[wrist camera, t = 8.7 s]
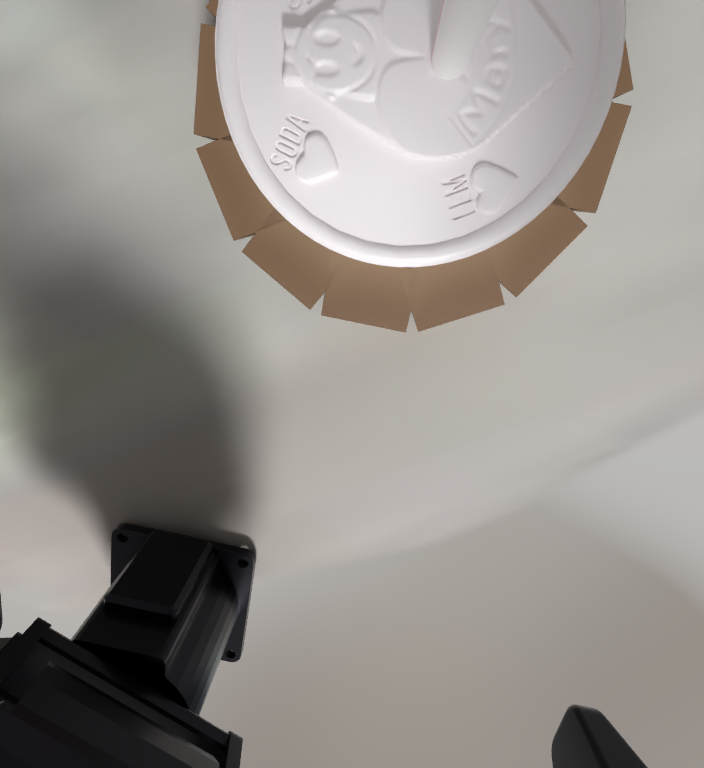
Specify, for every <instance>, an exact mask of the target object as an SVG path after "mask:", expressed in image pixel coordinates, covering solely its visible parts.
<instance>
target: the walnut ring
mask: <svg viewBox="0 0 704 768" xmlns="http://www.w3.org/2000/svg"><path fill="white" fill-rule="evenodd" d="M218 2H219V0H210V2H209V3H208V5H207V7H206V8H207V9H208V10H209V11H210V12H211V13H212V14H213V15H214V16H215V17H216V16H217V8H218ZM215 28H216V26H212V25H206V24H201V32H200V47H199V62H198V77H197V92H196V107H195V122H194V134H195V135H199V136H202V137H206V138H209V139H212V140H216V141H213V142H211V143H209V144H206V145H204V146H202V147H199V148H197V149H196V150H197V152H198V155H199V157H200V159H201V162H202V164H203V167H204V169H205V172H206V174H207V177H208V179H209V181H210V184H211V186H212V189H213V191H214V194H215V196H216V198H217V201H218V203H219V206H220V208H221V211H222V213H223V216H224V218H225V220H226V223H227V225H228V228H229V230H230V233H231V235H232V237H233V240H234V241H235V240H238V239H242V238H246V237H249V236H253V235H254V236H253V237H252V238H251V240H250V241H249V242H248V244H247V245H246V247H245V248H244V249H243V251H242V252H243V253H244V254H245V255H246V256H247V257H249V258H250V259H251V260H252V261H253V262H254V263H256V264H257V265H258V266H259V267H260V268H262V269H263V270H264V271H265V272H266V273H267V274H269V275H270V276H271V277H272V278H273V279H274V280H276V281H277V282H278V283H279V284H280V285H281V286H283V287H284V288H285V289H286V290H287V291H289V292H290V293H291V294H292V295H293V296H294V297H296V298H297V299H298V300H299V301H300V302H301V303H303V304H304V305H305V306H306V307H307V308H309V309H311V308H312V307H313V306H314V304H315V303H316V302H317V301H318V300H319V298H320V297H321V296H322V295H323V294H324V293H325V295H324V301H323V307H322V313H321V315H322V316H327V317H332V318H337V319H342V320H347V321H352V322H357V323H362V324H367V325H372V326H377V327H382V328H387V329H391V330H396V331H401V332H406V329H407V325H408V320H409V316H410V312H411V311H412V314H413V317H414V320H415V323H416V326H417V329H418V332H419V331H422V330H425V329H428V328H432V327H435V326H438V325H441V324H444V323H447V322H451V321H454V320H457V319H460V318H463V317H466V316H470V315H473V314H476V313H479V312H482V311H485V310H489V309H492V308H495V307H498V306H501V305H504V300H503V296H502V293H501V289H500V285H499V282H500V283H501V284H502V285H503V286H504V287H505V288H506V289H507V290H509V291H510V292H511V293H512V294H513V295H514V296H515V297H517V296H518V295H519V294H520V293H521V292H522V291H523V290H524V289H525V288H526V287H527V286H528V285H529V284H530V283H531V282H532V281H533V280H534V279H535V278H536V277H537V276H538V275H539V274H540V273H541V272H542V271H543V270H544V269H545V268H546V267H547V266H548V265H549V264H550V263H551V262H552V261H553V260H554V259H555V258H556V257H557V256H558V255H559V254H560V253H561V252H562V251H563V250H564V249H565V248H566V247H567V246H568V245H569V244H570V243H571V242H572V241H573V240H574V239H575V238H576V237H577V236H578V235H579V234H580V233H581V232H582V231H583V230H584V229H585V228H586V227H587V225H586V224H585V223H584V222H583V221H582V220H581V219H580V218H579V217H578V216H577V215H576V214H575V213H574V212H573V211H580V212H590V213H596V211H597V208H598V205H599V202H600V199H601V196H602V193H603V190H604V187H605V184H606V181H607V178H608V175H609V172H610V169H611V166H612V163H613V160H614V157H615V154H616V151H617V148H618V145H619V142H620V139H621V136H622V133H623V130H624V127H625V124H626V122H627V119H628V116H629V113H630V110H631V107H632V106H628V105H623V104H618V103H613V102H611V105H610V108H609V112H608V114H607V116H606V119H605V121H604V124H603V126H602V128H601V131H600V133H599V135H598V137H597V139H596V141H595V143H594V144H593V146H592V148H591V150H590V152H589V154H588V155H587V157H586V159H585V160H584V162H583V163H582V165H581V166H580V168H579V170H578V171H577V173H576V174H575V175H574V176H573V178H572V179H571V180H570V182H569V183H568V184H567V186H566V187H565V188H564V189H563V191H562V192H561V193H560V194H559V195H558V196H557V197H556V198H555V199H554V200H553V202H552V203H551V204H550V205H549V206H548V207H547V208H546V209H544V210H543V211H542V212H541V213H540V214H539V215H538V216H537V217H536V218H535V219H533V220H532V221H531V222H529V223H528V224H527V225H526V226H524V227H523V228H522V229H520V230H519V231H518V232H516V233H514V234H513V235H511V236H510V237H508V238H507V239H505V240H504V241H502V242H500V243H498V244H496V245H494V246H492V247H490V248H488V249H486V250H484V251H482V252H479V253H477V254H474V255H472V256H469V257H466V258H463V259H460V260H456V261H453V262H449V263H444V264H439V265H433V266H423V267H391V266H381V265H376V264H371V263H366V262H362V261H359V260H356V259H353V258H349V257H346V256H344V255H342V254H339V253H337V252H335V251H332V250H330V249H328V248H326V247H325V246H323V245H321V244H319V243H317V242H315V241H314V240H313V239H311V238H310V237H308V236H307V235H305V234H304V233H302V232H301V231H300V230H298V229H297V228H296V227H295V226H294V225H292V224H291V223H290V222H289V221H287V220H286V219H285V218H284V217H283V216H282V215H281V214H280V213H279V212H278V211H277V210H276V209H275V208H274V207H273V205H272V204H271V203H270V202H269V201H268V199H267V198H266V197H265V196H264V194H263V193H262V192H261V191H260V189H259V188H258V186H257V185H256V183H255V182H254V180H253V179H252V177H251V176H250V174H249V172H248V171H247V169H246V167H245V165H244V163H243V162H242V160H241V158H240V156H239V153H238V151H237V149H236V147H235V144H234V142H233V140H232V137H231V134H230V131H229V128H228V126H227V123H226V120H225V116H224V112H223V108H222V104H221V100H220V94H219V88H218V82H217V74H216V62H215ZM631 90H633V85H632V79H631V72H630V66H629V60H628V54H627V48H626V41H625V43H624V50H623V57H622V63H621V69H620V73H619V77H618V82H617V86H616V90H615V93H614V96H613V98H616V97H618V96H620V95H622V94H624V93H626V92H629V91H631Z"/></svg>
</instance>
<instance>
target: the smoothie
mask: <svg viewBox="0 0 704 768" xmlns="http://www.w3.org/2000/svg"><path fill="white" fill-rule="evenodd" d="M625 26H626V5H625V0H219V2H218V8H217V16H216V28H215V62H216V74H217V82H218V88H219V94H220V100H221V104H222V108H223V112H224V116H225V120H226V123H227V126H228V128H229V131H230V134H231V137H232V140H233V142H234V144H235V147H236V149H237V151H238V153H239V156H240V158H241V160H242V162H243V163H244V165H245V167H246V169H247V171H248V172H249V174H250V176H251V177H252V179H253V180H254V182H255V183H256V185H257V186H258V188H259V189H260V191H261V192H262V193H263V194H264V196H265V197H266V198H267V199H268V201H269V202H270V203H271V204H272V205H273V207H274V208H275V209H276V210H277V211H278V212H279V213H280V214H281V215H282V216H283V217H284V218H285V219H286V220H287V221H289V222H290V223H291V224H292V225H294V226H295V227H296V228H297V229H298V230H300V231H301V232H302V233H304V234H305V235H307V236H308V237H310V238H311V239H313V240H314V241H315V242H317V243H319V244H321V245H323V246H325V247H326V248H328V249H330V250H332V251H335V252H337V253H339V254H342V255H344V256H346V257H349V258H353V259H356V260H359V261H362V262H366V263H371V264H376V265H381V266H391V267H423V266H433V265H439V264H444V263H449V262H453V261H456V260H460V259H463V258H466V257H469V256H472V255H474V254H477V253H479V252H482V251H484V250H486V249H488V248H490V247H492V246H494V245H496V244H498V243H500V242H502V241H504V240H505V239H507V238H508V237H510V236H511V235H513V234H514V233H516V232H518V231H519V230H520V229H522V228H523V227H524V226H526V225H527V224H528V223H529V222H531V221H532V220H533V219H535V218H536V217H537V216H538V215H539V214H540V213H541V212H542V211H543V210H544V209H546V208H547V207H548V206H549V205H550V204H551V203H552V202H553V200H554V199H555V198H556V197H557V196H558V195H559V194H560V193H561V192H562V191H563V189H564V188H565V187H566V186H567V184H568V183H569V182H570V180H571V179H572V178H573V176H574V175H575V174H576V173H577V171H578V170H579V168H580V166H581V165H582V163H583V162H584V160H585V159H586V157H587V155H588V154H589V152H590V150H591V148H592V146H593V144H594V143H595V141H596V139H597V137H598V135H599V133H600V131H601V128H602V126H603V124H604V121H605V119H606V116H607V114H608V112H609V108H610V105H611V102H612V99H613V96H614V93H615V90H616V86H617V82H618V77H619V73H620V69H621V63H622V57H623V50H624V43H625Z"/></svg>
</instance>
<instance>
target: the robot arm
mask: <svg viewBox="0 0 704 768" xmlns="http://www.w3.org/2000/svg"><path fill="white" fill-rule="evenodd" d="M122 533H123V534H125V535H126V536H127V537H125V536H124V535H123V534H122ZM240 559H244V560H246V561H247V562H243V561H241V560H240ZM255 563H256V556H255V554H254V553H253V552H252V551H251V550H248V549H245V548H240V547H236V546H231V545H226V544H221V543H217V542H212V541H207V540H203V539H198V538H193V537H189V536H184V535H179V534H175V533H170V532H165V531H160V530H156V529H151V528H146V527H142V526H137V525H132V524H128V523H122V524H120V525H119V526H118V527H117V528H116V529H115V530H114V531H113V533H112V544H111V586H110V588H109V589H108V590H107V592H106V593H105V594H104V596H103V597H102V598H101V600H100V601H99V602H98V604H97V605H96V606H95V608H94V609H93V610H92V612H91V613H90V614H89V616H88V617H87V619H86V620H85V621H84V623H83V624H82V625H81V627H80V628H79V629H78V631H77V632H76V633H75V635H74V636H73V637H72V639H71V640H70V639H68V638H67V637H65V636H63V635H62V634H60V633H58V632H57V631H55V630H53V629H51V628H50V627H51V624H49V623H47V622H46V621H44V620H42V619H41V618H37V619H36V620H35V621H34V622H33V624H32V625H31V626H30V627H29V628H28V629H27V630H26V631H25V632H24V633H23V634H21V633H19V632H17V633H16V634H15V635H14V636H13V637H12V638H0V768H239V767H240V758H241V750H242V741H243V739H242V738H241V737H239V736H238V735H236V734H234V733H233V732H231V731H229V732H228V733H227V732H225V731H224V730H222V729H220V728H219V727H217V726H215V725H214V724H212V723H210V722H208V721H207V720H205V719H203V718H202V717H200V716H199V714H200V711H201V709H202V706H203V704H204V701H205V698H206V696H207V693H208V691H209V688H210V686H211V683H212V681H213V678H214V675H215V673H216V670H217V668H218V665H219V663H220V660H224V661H228V662H235V661H238V660H239V659H240V657H241V654H242V651H243V646H244V639H245V632H246V626H247V618H248V612H249V605H250V597H251V591H252V584H253V577H254V570H255ZM1 626H2V608H1V595H0V630H1ZM231 650H232V651H231ZM552 762H553V768H647V766H646V765H645V764H644V763H643V762H642V760H641V759H640V758H639V757H638V756H637V754H636V753H635V752H634V751H633V750H632V748H631V747H630V746H629V745H628V744H627V743H626V741H625V740H624V739H623V738H622V737H621V735H620V734H619V733H618V732H617V730H616V729H615V728H614V727H613V726H612V724H611V723H610V722H609V721H608V720H607V719H606V717H605V716H604V715H603V714H602V713H601V712H600V711H598V710H597V709H594V708H589V707H584V706H580V705H571V706H569V707H568V709H567V711H566V712H565V715H564V717H563V719H562V721H561V723H560V725H559V728H558V730H557V732H556V734H555V736H554V739H553V743H552Z"/></svg>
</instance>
